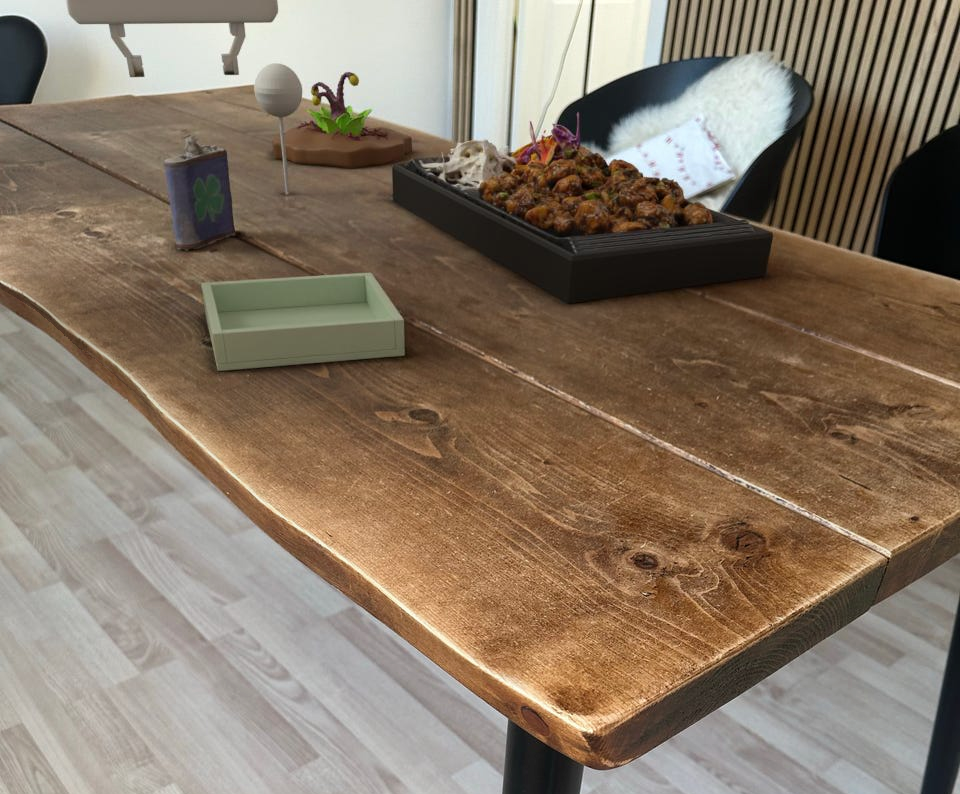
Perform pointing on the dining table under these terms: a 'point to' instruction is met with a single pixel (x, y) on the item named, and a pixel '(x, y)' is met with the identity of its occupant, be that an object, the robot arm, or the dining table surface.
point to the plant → (340, 135)
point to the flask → (199, 195)
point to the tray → (301, 321)
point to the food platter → (578, 219)
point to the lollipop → (279, 97)
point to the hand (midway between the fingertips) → (184, 75)
